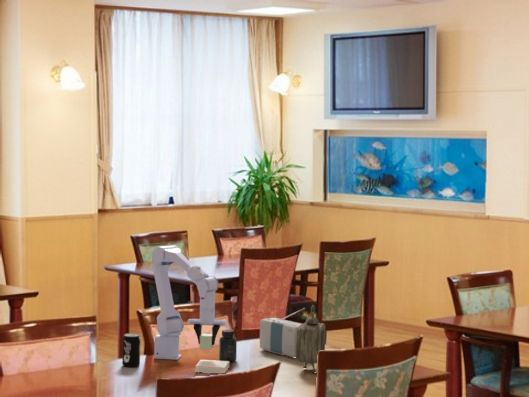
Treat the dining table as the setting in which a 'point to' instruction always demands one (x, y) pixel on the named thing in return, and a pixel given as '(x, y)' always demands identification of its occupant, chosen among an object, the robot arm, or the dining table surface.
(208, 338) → the sage block
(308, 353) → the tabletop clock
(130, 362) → the beverage can
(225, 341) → the supplement bottle
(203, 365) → the ceramic base
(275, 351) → the stereo radio cassette player
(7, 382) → the dining table surface
